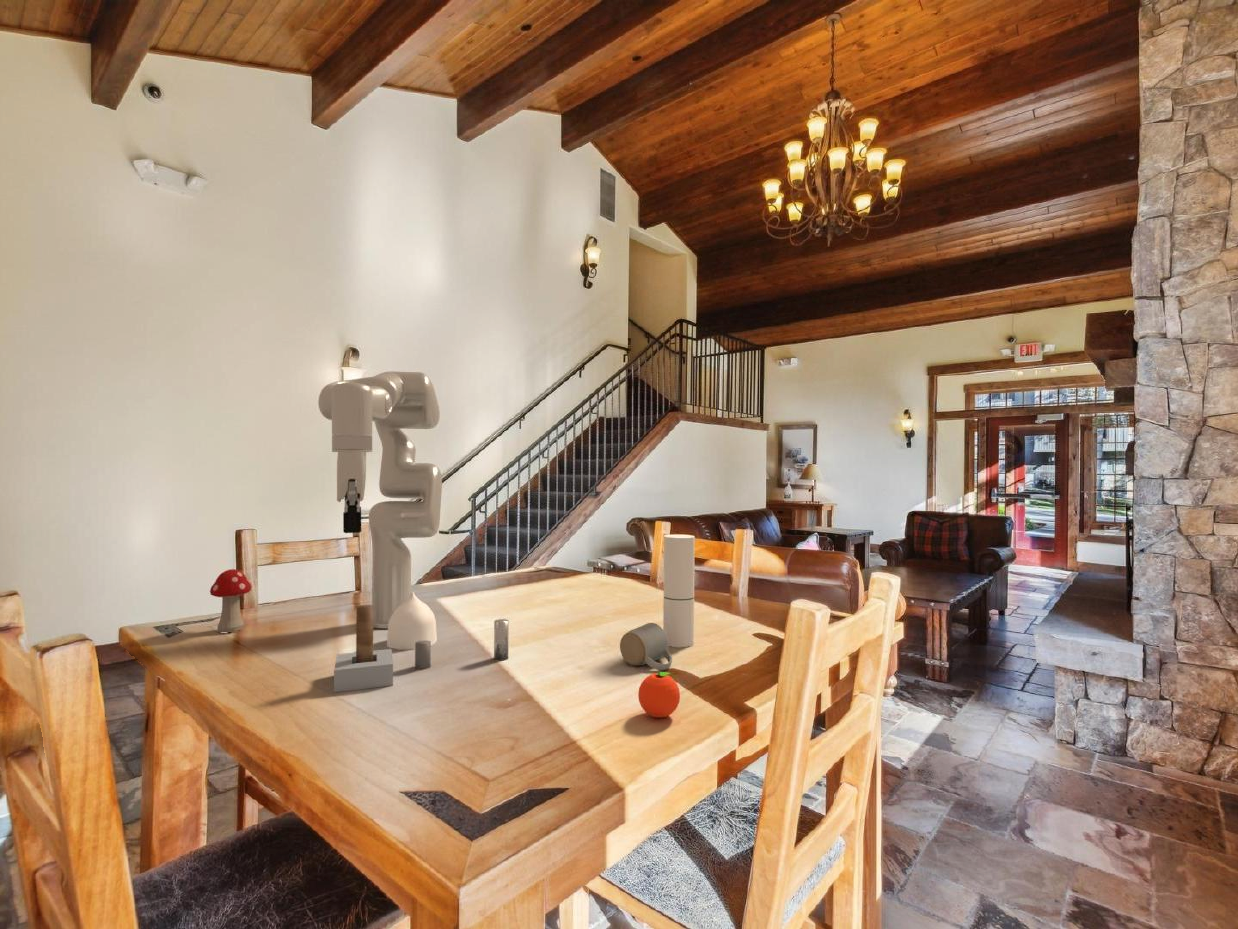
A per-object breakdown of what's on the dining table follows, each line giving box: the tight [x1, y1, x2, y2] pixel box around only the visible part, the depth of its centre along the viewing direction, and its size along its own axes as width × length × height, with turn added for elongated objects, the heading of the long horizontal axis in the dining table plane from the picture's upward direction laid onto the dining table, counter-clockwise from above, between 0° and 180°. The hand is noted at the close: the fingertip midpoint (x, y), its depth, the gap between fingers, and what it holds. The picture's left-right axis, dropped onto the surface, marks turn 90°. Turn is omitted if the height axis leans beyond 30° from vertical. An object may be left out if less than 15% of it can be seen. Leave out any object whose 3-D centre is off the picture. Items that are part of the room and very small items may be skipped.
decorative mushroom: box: [209, 568, 253, 633], centre depth 151 cm, size 10×9×15 cm
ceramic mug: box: [619, 622, 673, 671], centre depth 128 cm, size 11×8×8 cm
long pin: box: [355, 604, 374, 663], centre depth 117 cm, size 3×3×14 cm
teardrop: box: [386, 590, 438, 650], centre depth 142 cm, size 11×11×12 cm
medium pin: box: [493, 618, 510, 661], centre depth 131 cm, size 3×3×8 cm
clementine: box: [637, 671, 681, 719], centre depth 102 cm, size 8×7×7 cm
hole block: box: [333, 648, 394, 693], centre depth 117 cm, size 10×10×4 cm
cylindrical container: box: [662, 534, 696, 648], centre depth 144 cm, size 7×7×25 cm
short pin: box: [414, 640, 432, 670], centre depth 125 cm, size 3×3×5 cm
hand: (352, 529), depth 124 cm, fingers open, 9 cm apart
